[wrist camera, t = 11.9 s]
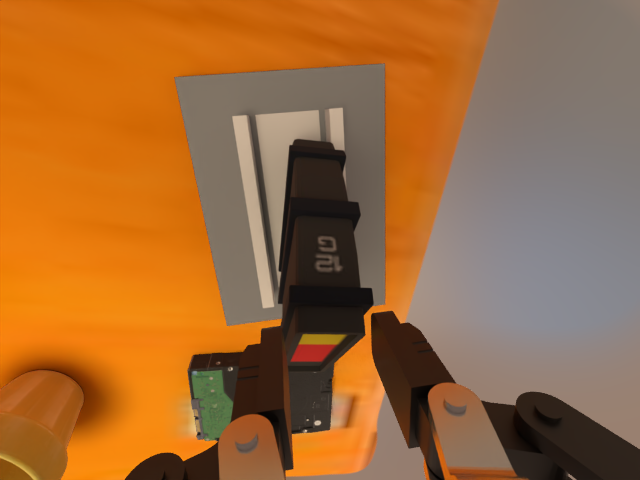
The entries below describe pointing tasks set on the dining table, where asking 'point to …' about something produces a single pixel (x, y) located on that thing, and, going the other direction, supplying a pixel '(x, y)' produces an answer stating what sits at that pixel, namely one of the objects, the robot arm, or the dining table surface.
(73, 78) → the dining table surface
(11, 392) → the plant pot
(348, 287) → the magazine
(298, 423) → the disk drive
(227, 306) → the rail board
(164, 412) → the dining table surface
